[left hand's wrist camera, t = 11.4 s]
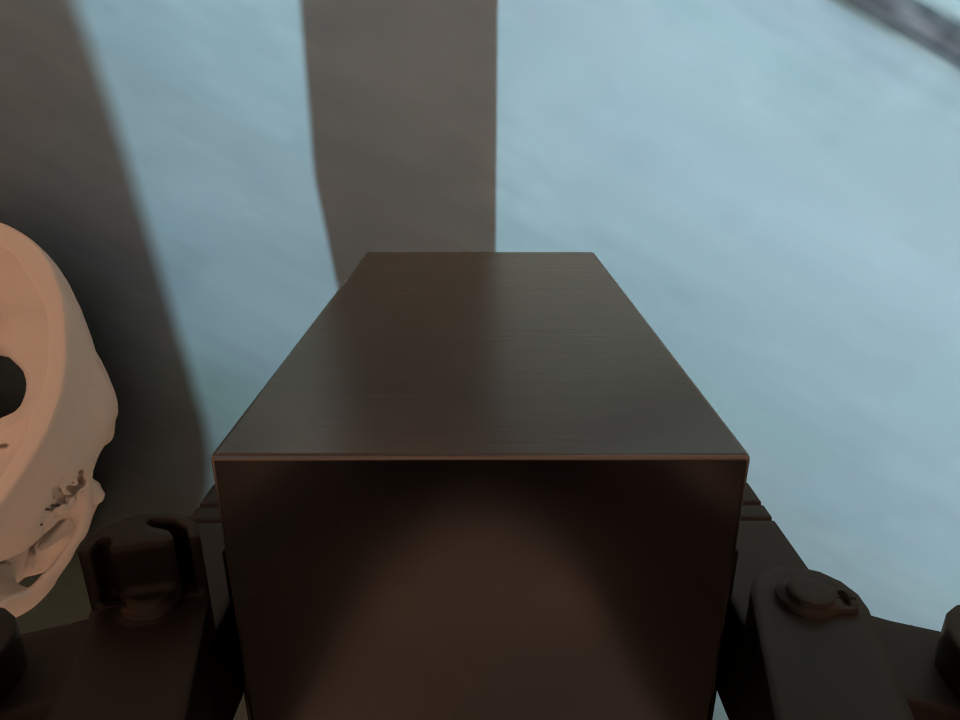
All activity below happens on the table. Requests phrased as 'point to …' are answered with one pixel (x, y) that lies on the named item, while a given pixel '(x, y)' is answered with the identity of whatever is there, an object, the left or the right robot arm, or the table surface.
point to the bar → (480, 503)
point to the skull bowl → (47, 423)
